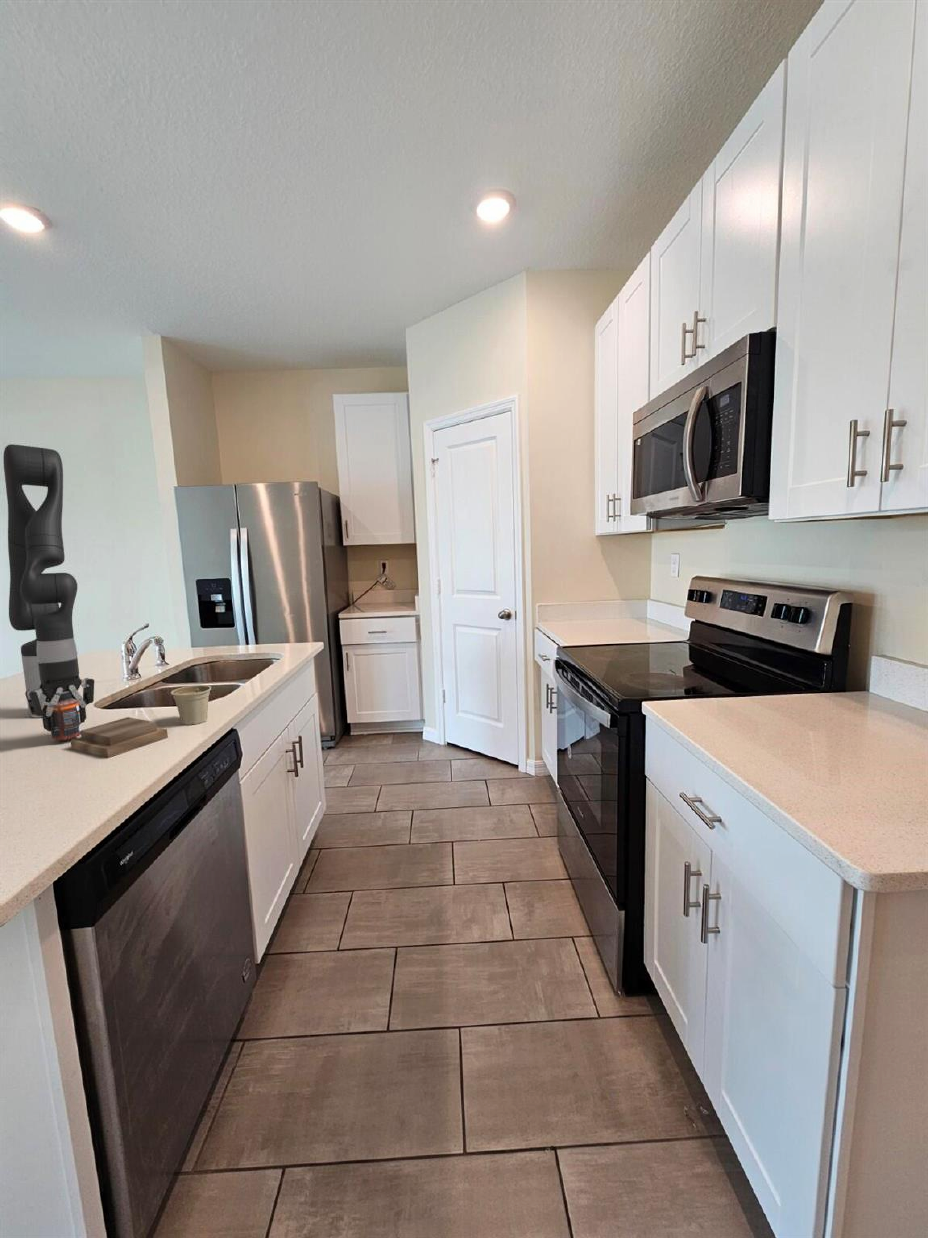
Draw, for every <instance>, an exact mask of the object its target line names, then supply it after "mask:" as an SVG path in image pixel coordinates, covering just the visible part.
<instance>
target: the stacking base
mask: <svg viewBox="0 0 928 1238" xmlns="http://www.w3.org/2000/svg"><path fill="white" fill-rule="evenodd" d="M80 732H81V735H80V737H78V738H77V737H76V738H72V739H70V747H71V750H75V751H78V752H79V751H80V752H83V753H88V754H91V755H93V756H94V755H96V756H99V757H103V758H108V759H110V758H112V757H116V756H118V755H121V754H124V753H127V752H130V751H133V750H135V749H138V748H142V747H144V746H147V745H150V744H154V743H156V742H158V741H161V740H164V739H167V738H169V735H168V729H167V728H161V727H158V725H157V722H155V721H150V720H144V719H140V718H134V717H129V716H127V717H124V718H120V719H117V720H113V721H110V722H109V721H108V722H106V723H103V724H99V725H96V726H93V727H89V728H86V729H82V730H81V731H80Z"/></svg>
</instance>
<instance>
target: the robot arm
mask: <svg viewBox="0 0 928 1238" xmlns="http://www.w3.org/2000/svg"><path fill="white" fill-rule="evenodd" d="M3 472H4V481H5V489H6V490H5V491H6V499H7V549H8V561H9V562H8V563H9V593H8V594H9V595H8V596H9V597H8V619H9V623H10V625H11V628H13V629H14V630H15V631H22V632H24V631H25V632H26V631H35V639H33V640H31V641H28V642H26V643H23V644H22V645H21V646H20V655H21V663H22V669H23V678H24V684H25V685H24V686H25V692H24V693H25V694H24V695H25V698H26V701H27V707H28V716H29V717H30V718H34V719H35V718H42V719H41V720H42V725H43V729H44V730H46V731H47V732H50V733H51V732H52V731H54V730H55V728H54V719H53V716H52V712H53V710H54V707H56V705H57V703H58V700H59V697H60V695H61V694H62V692H66V691H70V692H71V693H72V697H74V698H75V699H76V700H77V701H78V704H79V711H80V720H81V724H84V723H85V720H87V710H86V706H88V705H90V704H92V703H94V698H95V695H94V694H95V679H93V678H89V677H85V678H83V679H81V678H80V668H79V659H78V649H77V645H76V641H75V635H74V626H73V611H74V610H73V609H74V607H75V606H74V605H75V600H76V597H77V592H78V582H77V580H76V578H75V576H74V575H72V574H71V573H68V572H45V573H44V571H46V570H47V569H51V568H54V567H58V566H61V565H62V564H63V563H65V549H64V548H65V547H64V539H63V528H62V527H63V525H62V524H63V523H62V521H63V506H64V505H63V504H64V503H63V502H64V501H63V499H64V468H63V460H62V457H61V454H60V453H59V452H58V451H57V450H54V449H51V448H45V447H38V446H30V445H22V444H15V443H14V444H7V445H6V446H5V448H4V451H3ZM23 486H34V487H45V488H47V492H46V497H45V498H44V500H43V502H42V503H41V505H40V506H39V507H38V508H37V509H35V508H34V507H33V505H32V503H31V502H30V501H29V499H28V497H27V495H26V493H25V491H24V488H23ZM80 687H82V695H81V694H80V692H79V691H78V690H79V689H80Z"/></svg>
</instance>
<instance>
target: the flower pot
mask: <svg viewBox="0 0 928 1238" xmlns="http://www.w3.org/2000/svg"><path fill="white" fill-rule="evenodd" d="M211 691H212V687H211V686H210V685H205V684H204V685H201V684H199V685H198V684H197V685H190V686H189V685H188V686H183V687H179V688H175V689H173V690H171V692H170V694H171V696H173V699H174V701H175V704H176V709H177V711H178V716H179V720H180V723H181V724H182V725H183V726H184V725H185V726H190V725H192V724H194V725H198V724H202V723H204V722H207V719H208V715H209V714H208V713H209V712H208V710H209V698H210V697H209V696H210V694H211V693H210V692H211Z"/></svg>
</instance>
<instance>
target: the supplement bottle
mask: <svg viewBox="0 0 928 1238" xmlns="http://www.w3.org/2000/svg"><path fill="white" fill-rule="evenodd" d="M52 716H53V719H54V728H55V730H54V731H52V732H50V735H51V739H52V740H54V741H67V740H73V739H76V738H77V737H79V736H81V732H80V731H81V730H83V729H82V723H81V720H80V711H79V704H78V701H77V700H76V699H75V698H74V697H72V693H71V692H70V691H66V692H62V694H61V695H60V697H59V700H58V703H57V705H56V707H54V710H53V712H52Z"/></svg>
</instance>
